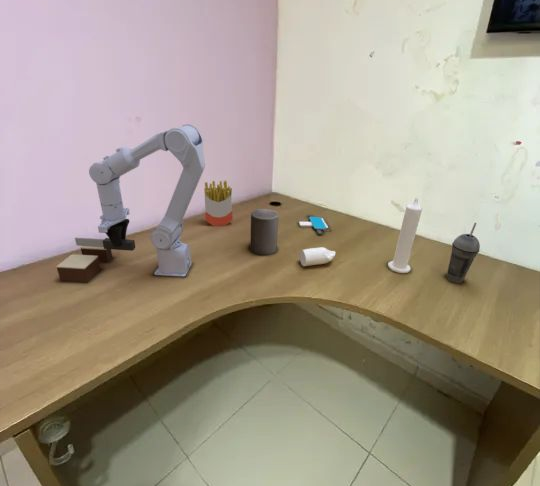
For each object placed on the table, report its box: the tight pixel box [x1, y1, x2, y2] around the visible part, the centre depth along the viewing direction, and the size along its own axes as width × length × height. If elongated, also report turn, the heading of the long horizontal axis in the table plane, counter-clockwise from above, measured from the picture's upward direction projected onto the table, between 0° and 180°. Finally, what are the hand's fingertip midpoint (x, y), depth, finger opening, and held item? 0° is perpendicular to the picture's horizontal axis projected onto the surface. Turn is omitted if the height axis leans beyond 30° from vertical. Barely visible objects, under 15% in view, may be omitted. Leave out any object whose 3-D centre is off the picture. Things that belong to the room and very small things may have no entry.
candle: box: [387, 196, 423, 274], centre depth 98 cm, size 7×7×25 cm
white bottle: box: [298, 246, 336, 267], centre depth 103 cm, size 6×12×6 cm, turn 105°
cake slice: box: [79, 246, 114, 264], centre depth 99 cm, size 8×3×5 cm, turn 88°
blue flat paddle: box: [298, 214, 331, 236], centre depth 133 cm, size 20×12×2 cm, turn 5°
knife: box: [74, 237, 136, 252], centre depth 95 cm, size 18×2×3 cm, turn 88°
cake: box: [55, 253, 102, 284], centre depth 91 cm, size 8×7×5 cm
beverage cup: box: [446, 222, 481, 284], centre depth 95 cm, size 7×7×20 cm
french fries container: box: [204, 180, 233, 227], centre depth 127 cm, size 5×11×18 cm, turn 101°
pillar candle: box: [249, 208, 280, 256], centre depth 109 cm, size 10×10×15 cm
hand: (119, 244), depth 95 cm, fingers closed on knife, 2 cm apart
